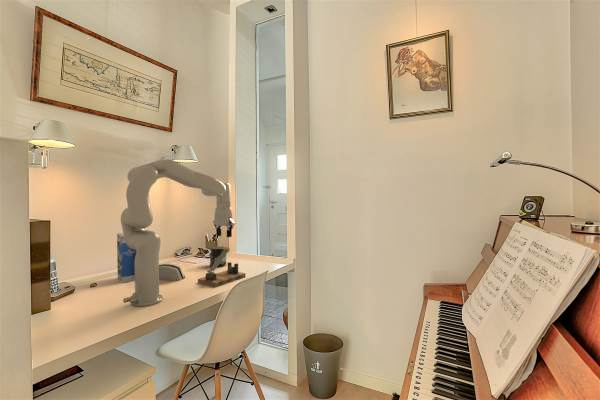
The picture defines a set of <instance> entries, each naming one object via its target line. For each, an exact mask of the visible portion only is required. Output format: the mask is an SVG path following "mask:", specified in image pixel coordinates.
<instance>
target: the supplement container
mask: <svg viewBox="0 0 600 400" xmlns="http://www.w3.org/2000/svg"><path fill="white" fill-rule="evenodd" d="M225 247H226V246H213V247H211V248H210V253H209V259H210V260H209V265H210V267H212V265H213V264H214V263H215V261H216V260H217V259H218V257H219V256H220V255H221V253H222V252H223V251H224V248H225ZM226 265H227V254H226V255H225V257H224V258H223V259H222V261H221V262H220V263H219V265H218V266H217V268H222V267H225V266H226Z"/></svg>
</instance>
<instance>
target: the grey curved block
mask: <svg viewBox="0 0 600 400" xmlns="http://www.w3.org/2000/svg"><path fill="white" fill-rule="evenodd" d="M166 279H167V280H169V281H171V280H172V281H182V280H183V279H186V275H185V274H184V273H183V270H182V268H181V266H180V265H179V264H174V263H160V264H159V280H166Z"/></svg>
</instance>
